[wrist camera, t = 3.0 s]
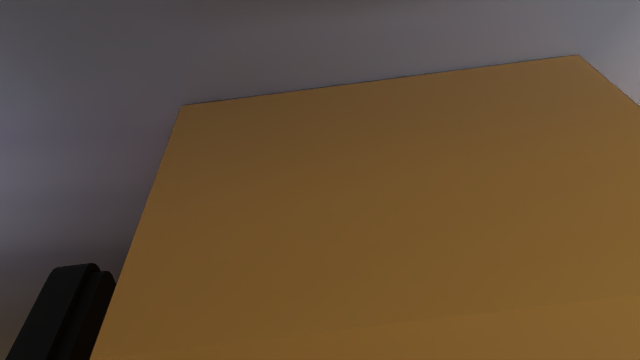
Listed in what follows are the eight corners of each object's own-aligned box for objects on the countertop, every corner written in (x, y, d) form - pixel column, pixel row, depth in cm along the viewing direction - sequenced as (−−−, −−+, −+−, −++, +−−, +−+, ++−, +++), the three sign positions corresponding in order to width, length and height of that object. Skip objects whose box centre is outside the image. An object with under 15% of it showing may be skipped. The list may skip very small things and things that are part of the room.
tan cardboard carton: (181, 106, 9) (89, 360, 5) (578, 54, 9) (836, 271, 5) (251, 374, 12) (232, 673, 8) (547, 340, 12) (687, 625, 8)
